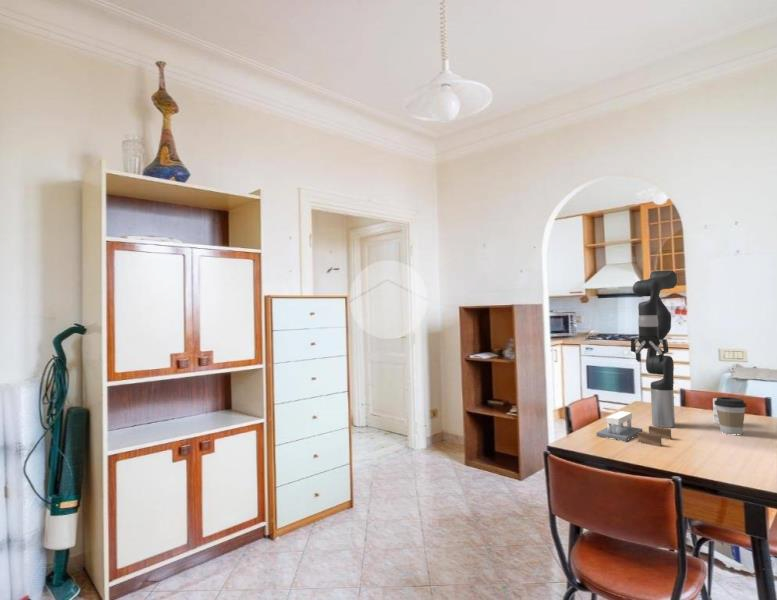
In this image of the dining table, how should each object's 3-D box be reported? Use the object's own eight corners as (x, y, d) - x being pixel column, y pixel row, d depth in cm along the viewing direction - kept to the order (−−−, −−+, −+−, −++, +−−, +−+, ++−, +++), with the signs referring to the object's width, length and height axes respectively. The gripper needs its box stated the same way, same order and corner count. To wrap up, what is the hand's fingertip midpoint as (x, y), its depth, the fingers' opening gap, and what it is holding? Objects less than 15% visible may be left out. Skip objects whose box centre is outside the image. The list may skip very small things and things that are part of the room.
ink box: (737, 427, 202) (736, 401, 202) (726, 427, 202) (725, 401, 202) (723, 422, 210) (722, 397, 211) (713, 422, 210) (712, 398, 211)
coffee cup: (736, 429, 197) (734, 396, 198) (754, 436, 186) (753, 401, 187) (709, 429, 199) (708, 396, 199) (726, 436, 187) (724, 401, 188)
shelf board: (620, 416, 202) (620, 411, 202) (631, 418, 198) (631, 412, 198) (606, 423, 191) (606, 417, 191) (618, 425, 188) (618, 419, 188)
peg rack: (614, 427, 206) (614, 414, 206) (642, 432, 197) (641, 418, 197) (596, 436, 192) (596, 422, 193) (625, 441, 184) (625, 427, 184)
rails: (650, 434, 192) (650, 425, 192) (671, 438, 186) (670, 429, 187) (638, 442, 182) (638, 432, 182) (660, 446, 176) (659, 436, 176)
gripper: (669, 325, 190) (670, 362, 189) (633, 325, 200) (635, 360, 200) (663, 326, 185) (665, 364, 184) (627, 325, 195) (629, 362, 195)
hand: (649, 362), depth 192 cm, fingers open, 8 cm apart
